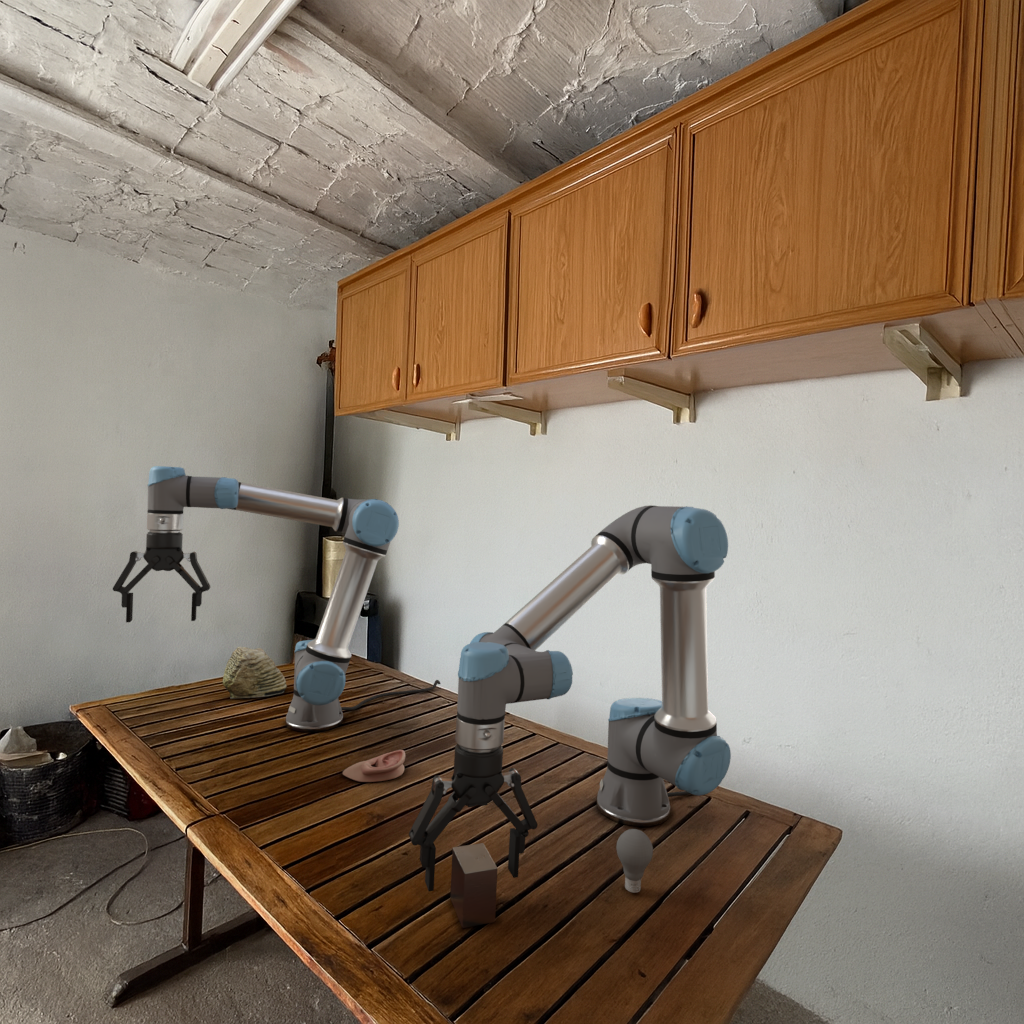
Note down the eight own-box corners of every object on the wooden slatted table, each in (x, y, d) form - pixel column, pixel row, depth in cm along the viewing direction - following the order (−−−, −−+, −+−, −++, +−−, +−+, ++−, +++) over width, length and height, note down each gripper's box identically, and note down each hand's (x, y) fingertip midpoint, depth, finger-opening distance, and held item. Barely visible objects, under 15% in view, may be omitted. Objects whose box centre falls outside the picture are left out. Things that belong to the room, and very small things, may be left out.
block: (462, 928, 95) (464, 873, 95) (450, 898, 102) (452, 847, 101) (495, 922, 96) (497, 868, 96) (481, 893, 103) (483, 842, 103)
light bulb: (610, 879, 108) (613, 822, 108) (644, 879, 109) (647, 822, 109) (619, 902, 102) (622, 840, 102) (655, 901, 103) (658, 840, 103)
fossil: (218, 695, 195) (220, 647, 195) (278, 685, 208) (279, 640, 207) (228, 703, 189) (230, 653, 188) (289, 692, 201) (290, 645, 201)
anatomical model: (336, 761, 142) (359, 742, 153) (336, 778, 142) (358, 758, 153) (392, 768, 139) (411, 749, 151) (391, 786, 139) (410, 765, 151)
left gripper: (99, 531, 142) (96, 625, 143) (221, 533, 151) (217, 622, 151) (108, 529, 149) (105, 618, 150) (223, 531, 158) (220, 616, 158)
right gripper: (403, 760, 91) (396, 907, 91) (562, 746, 99) (554, 881, 100) (395, 741, 98) (388, 877, 98) (543, 729, 106) (536, 855, 107)
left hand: (161, 620), depth 151 cm, fingers open, 13 cm apart
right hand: (472, 879), depth 99 cm, fingers open, 13 cm apart
